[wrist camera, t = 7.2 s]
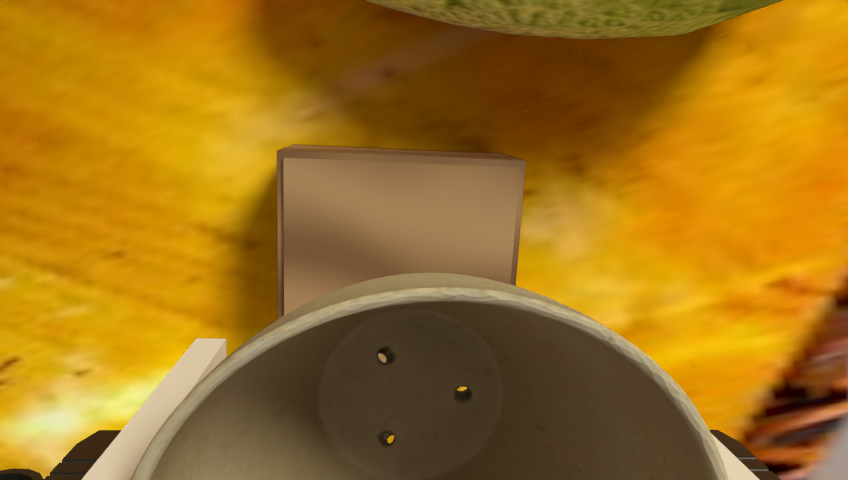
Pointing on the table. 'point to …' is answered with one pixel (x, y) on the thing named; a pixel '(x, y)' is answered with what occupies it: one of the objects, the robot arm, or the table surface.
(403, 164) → the walnut block
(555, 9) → the lettuce
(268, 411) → the flower pot
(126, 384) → the table surface
